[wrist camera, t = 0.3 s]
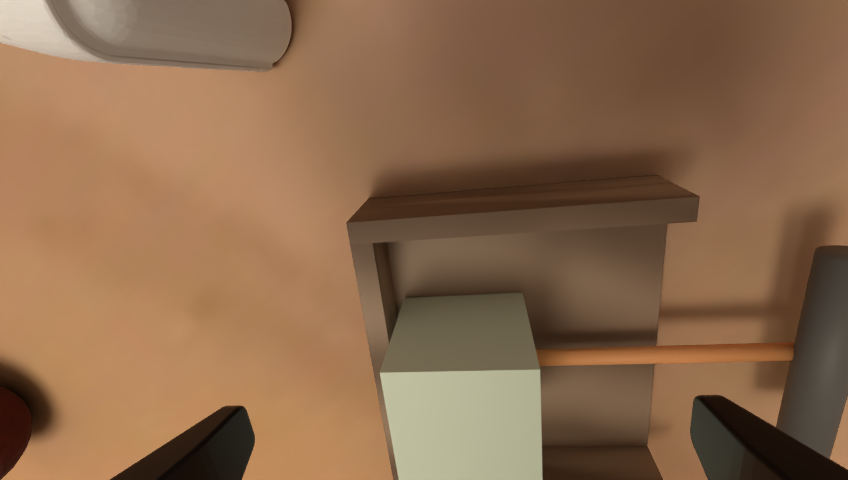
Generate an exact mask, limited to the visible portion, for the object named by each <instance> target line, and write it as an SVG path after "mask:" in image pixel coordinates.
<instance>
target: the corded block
mask: <svg viewBox="0 0 848 480" xmlns="http://www.w3.org/2000/svg"><path fill="white" fill-rule="evenodd" d="M758 361H790V366H789V370H788V375H787V379H786V384H785V388H784V393H783V397H782V402H781V407H780V411H779V416H778V420H777V425H776V428H778V429H779V430H781V431H783V432H784V433H786V434H788V435H789V436H791V437H793V438H795V439H796V440H798V441H800V442H801V443H803V444H805V445H806V446H808V447H810V448H812V449H813V450H815V451H817V452H818V453H820V454H822V455H823V456H825V457H827V458H829V459H830V456H831V452H832V449H833V445H834V442H835V438H836V435H837V431H838V428H839V424H840V421H841V417H842V414H843V410H844V407H845V403H846V400H847V396H848V246H837V245H832V246H822V247H818V248H816V249H815V253H814V257H813V262H812V266H811V271H810V275H809V280H808V284H807V289H806V293H805V298H804V302H803V307H802V311H801V316H800V320H799V325H798V330H797V334H796V339H795V342H789V343H752V344H715V345H678V346H641V347H604V348H567V349H535V345H534V340H533V336H532V331H531V327H530V323H529V318H528V314H527V310H526V305H525V301H524V296H523V292H522V293H501V294H479V295H458V296H436V297H415V298H404V300H403V303H402V306H401V309H400V312H399V315H398V318H397V321H396V324H395V328H394V331H393V334H392V337H391V340H390V343H389V346H388V349H387V352H386V355H385V358H384V361H383V364H382V367H381V370H380V377H381V383H382V389H383V394H384V400H385V406H386V411H387V417H388V422H389V428H390V434H391V439H392V445H393V450H394V456H395V462H396V467H397V473H398V479H399V480H543V478H542V431H541V383H540V366H570V365H617V364H664V363H711V362H758Z"/></svg>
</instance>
